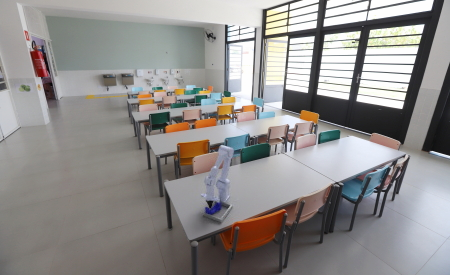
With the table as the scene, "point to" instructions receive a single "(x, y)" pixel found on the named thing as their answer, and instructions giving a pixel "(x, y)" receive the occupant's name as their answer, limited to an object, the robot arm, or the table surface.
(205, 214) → the bracket
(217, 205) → the cable clip
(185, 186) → the table surface
